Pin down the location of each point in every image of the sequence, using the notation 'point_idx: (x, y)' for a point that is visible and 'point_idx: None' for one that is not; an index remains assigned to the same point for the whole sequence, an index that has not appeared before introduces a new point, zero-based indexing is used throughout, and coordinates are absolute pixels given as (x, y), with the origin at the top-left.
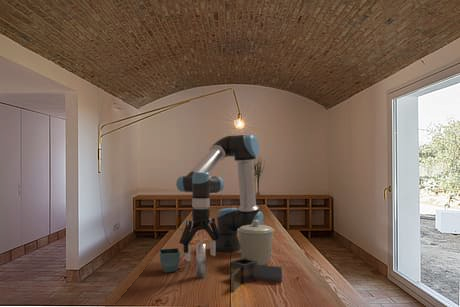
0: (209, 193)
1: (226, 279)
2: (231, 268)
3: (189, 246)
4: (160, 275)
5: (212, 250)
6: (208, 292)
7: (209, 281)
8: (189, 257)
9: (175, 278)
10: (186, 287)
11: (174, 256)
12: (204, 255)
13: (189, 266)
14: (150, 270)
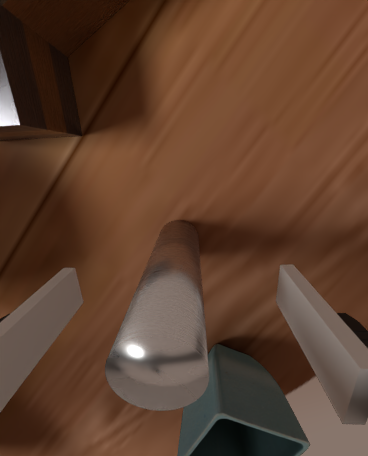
0: None
1: (107, 135)
2: (50, 120)
3: (361, 355)
4: (280, 342)
5: (58, 306)
6: (290, 28)
7: (186, 166)
8: (298, 279)
9: (265, 286)
10: (310, 168)
11: (242, 402)
12: (160, 269)
13: None
14: None
